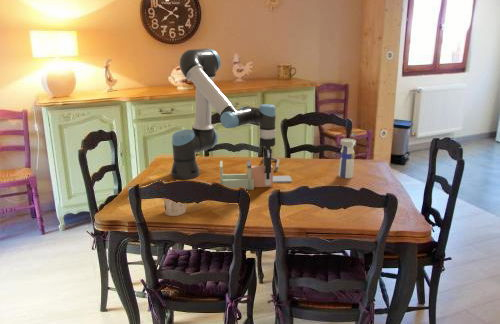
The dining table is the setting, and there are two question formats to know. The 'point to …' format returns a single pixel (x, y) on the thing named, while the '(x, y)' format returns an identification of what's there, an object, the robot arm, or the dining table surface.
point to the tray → (281, 179)
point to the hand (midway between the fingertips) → (267, 183)
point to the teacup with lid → (174, 208)
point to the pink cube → (260, 176)
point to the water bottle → (347, 157)
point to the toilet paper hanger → (276, 162)
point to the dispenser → (237, 178)
